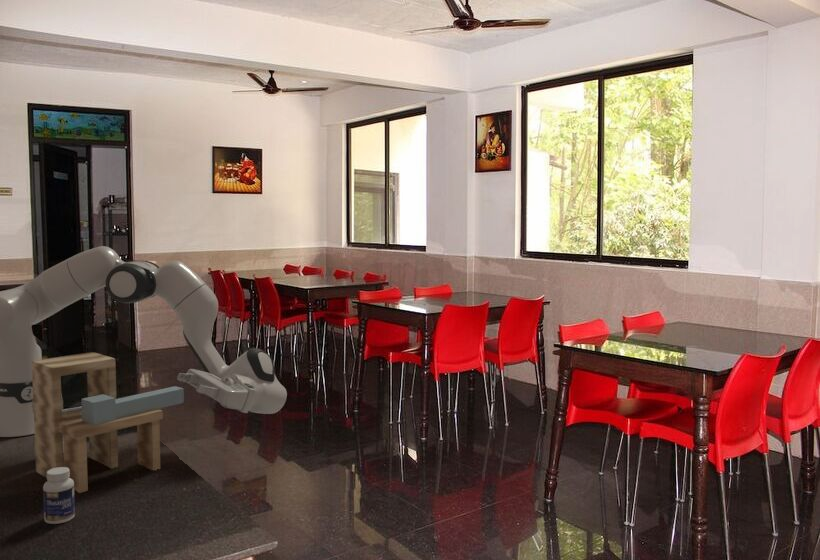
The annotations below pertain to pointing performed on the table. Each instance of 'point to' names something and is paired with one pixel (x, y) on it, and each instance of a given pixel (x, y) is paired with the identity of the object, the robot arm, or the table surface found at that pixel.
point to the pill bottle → (58, 496)
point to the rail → (128, 404)
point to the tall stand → (51, 415)
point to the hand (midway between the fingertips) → (188, 382)
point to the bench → (80, 430)
